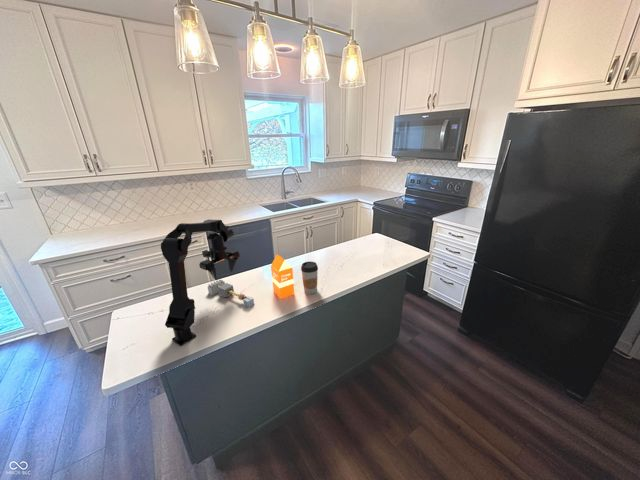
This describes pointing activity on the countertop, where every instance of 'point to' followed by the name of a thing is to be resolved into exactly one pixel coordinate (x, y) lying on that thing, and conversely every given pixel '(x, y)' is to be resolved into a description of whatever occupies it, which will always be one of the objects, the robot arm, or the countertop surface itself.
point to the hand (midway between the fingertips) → (223, 275)
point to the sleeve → (225, 289)
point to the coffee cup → (309, 277)
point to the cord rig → (214, 289)
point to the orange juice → (282, 277)
